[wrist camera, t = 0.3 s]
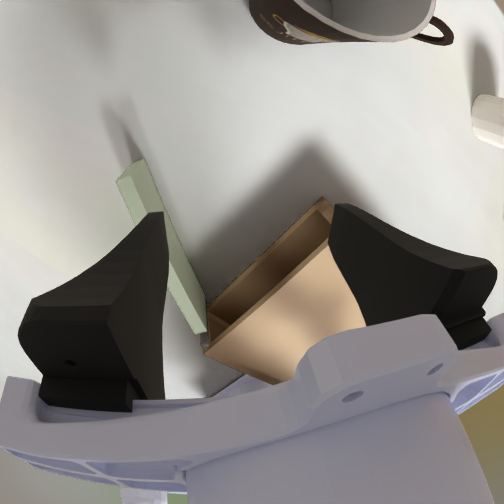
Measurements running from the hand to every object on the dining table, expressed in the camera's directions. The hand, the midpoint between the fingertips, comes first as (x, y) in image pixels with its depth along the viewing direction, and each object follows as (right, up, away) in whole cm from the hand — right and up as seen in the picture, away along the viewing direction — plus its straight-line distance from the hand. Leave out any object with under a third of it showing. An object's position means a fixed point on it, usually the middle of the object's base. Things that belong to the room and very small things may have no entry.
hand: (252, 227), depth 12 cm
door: (-6, 0, +11) cm, 13 cm away
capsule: (+24, +13, +9) cm, 29 cm away
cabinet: (+5, -5, +16) cm, 17 cm away
